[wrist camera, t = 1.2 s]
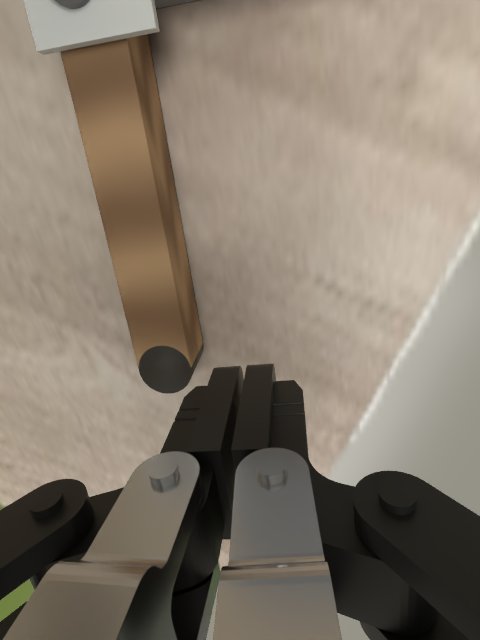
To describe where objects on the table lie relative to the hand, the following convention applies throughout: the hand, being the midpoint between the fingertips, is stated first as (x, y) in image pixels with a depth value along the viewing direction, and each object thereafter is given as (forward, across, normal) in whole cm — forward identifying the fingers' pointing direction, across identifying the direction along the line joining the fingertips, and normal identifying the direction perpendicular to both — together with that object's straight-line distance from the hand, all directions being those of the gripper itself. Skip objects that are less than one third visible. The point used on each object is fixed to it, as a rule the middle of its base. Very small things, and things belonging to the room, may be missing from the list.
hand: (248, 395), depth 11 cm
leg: (+17, +7, -5) cm, 19 cm away
